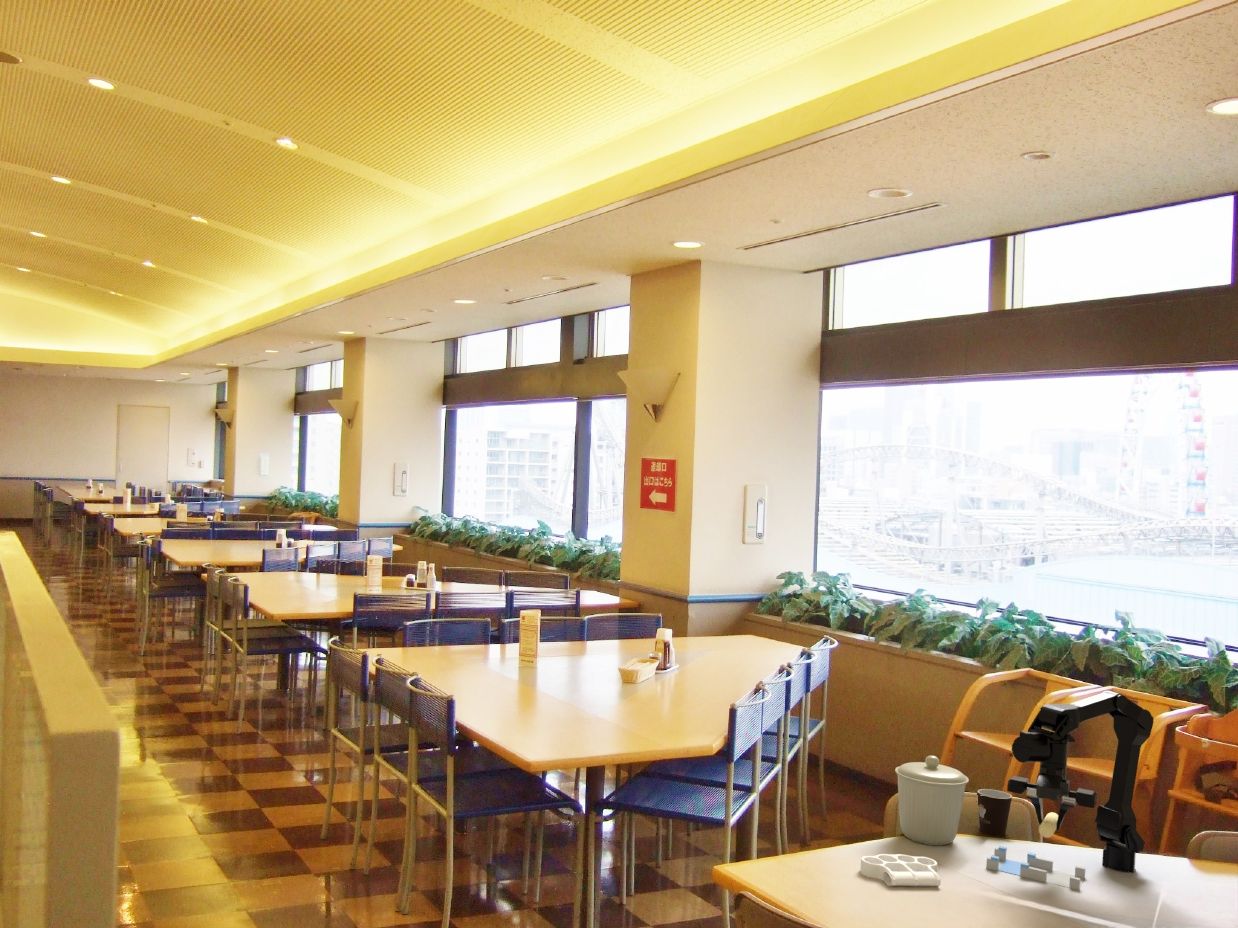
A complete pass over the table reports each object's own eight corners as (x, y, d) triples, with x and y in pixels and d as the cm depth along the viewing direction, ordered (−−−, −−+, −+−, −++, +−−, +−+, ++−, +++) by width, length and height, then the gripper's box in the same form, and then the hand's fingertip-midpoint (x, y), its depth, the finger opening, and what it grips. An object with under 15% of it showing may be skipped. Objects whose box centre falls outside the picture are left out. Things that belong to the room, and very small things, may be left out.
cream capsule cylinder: (1045, 824, 246) (1046, 810, 246) (1059, 827, 244) (1060, 813, 244) (1037, 837, 235) (1038, 822, 235) (1052, 840, 233) (1053, 826, 233)
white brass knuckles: (877, 889, 227) (851, 865, 241) (953, 890, 230) (923, 866, 244) (878, 874, 227) (852, 851, 242) (954, 874, 230) (924, 851, 245)
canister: (980, 846, 262) (985, 762, 262) (931, 854, 252) (936, 767, 253) (924, 824, 277) (929, 744, 278) (876, 831, 267) (881, 749, 268)
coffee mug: (1012, 838, 269) (1014, 800, 270) (977, 834, 271) (979, 795, 272) (1005, 825, 281) (1007, 788, 281) (971, 821, 283) (973, 784, 283)
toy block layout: (1084, 881, 240) (1085, 864, 241) (1078, 894, 232) (1079, 877, 232) (995, 860, 251) (996, 844, 251) (985, 872, 242) (986, 855, 242)
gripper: (1005, 759, 239) (1000, 827, 238) (1093, 775, 229) (1089, 846, 229) (1013, 751, 248) (1009, 816, 248) (1098, 766, 239) (1094, 834, 238)
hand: (1049, 828), depth 240 cm, fingers closed on cream capsule cylinder, 3 cm apart
